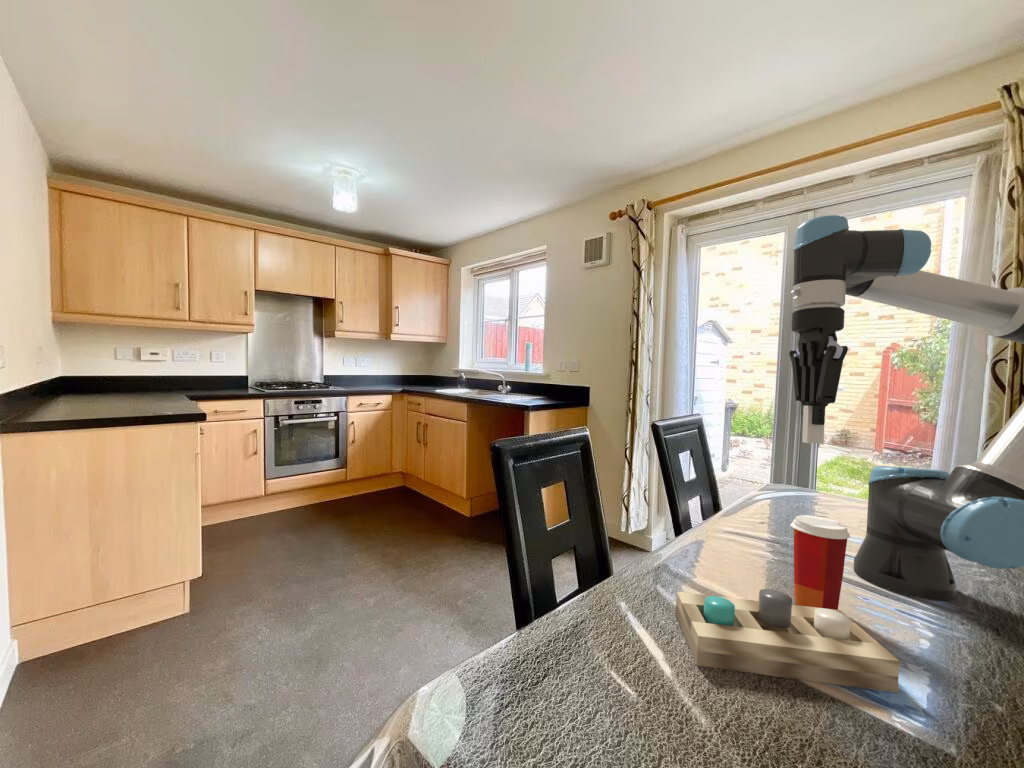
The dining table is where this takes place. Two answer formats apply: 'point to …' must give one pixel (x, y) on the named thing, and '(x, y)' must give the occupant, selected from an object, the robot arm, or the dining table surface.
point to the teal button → (718, 611)
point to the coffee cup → (818, 561)
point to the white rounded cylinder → (831, 624)
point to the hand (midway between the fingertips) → (812, 442)
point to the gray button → (775, 608)
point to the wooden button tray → (785, 647)
